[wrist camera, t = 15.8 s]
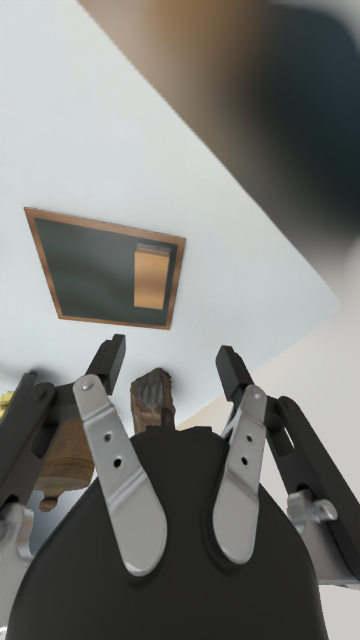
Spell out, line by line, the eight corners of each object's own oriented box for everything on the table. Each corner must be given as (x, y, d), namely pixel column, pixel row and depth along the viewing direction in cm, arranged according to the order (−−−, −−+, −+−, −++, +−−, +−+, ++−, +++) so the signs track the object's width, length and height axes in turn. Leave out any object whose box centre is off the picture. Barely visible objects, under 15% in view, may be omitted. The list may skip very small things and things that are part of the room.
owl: (160, 363, 41) (156, 462, 25) (188, 383, 47) (199, 473, 31) (128, 382, 45) (106, 479, 29) (158, 399, 51) (153, 486, 35)
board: (30, 207, 21) (22, 206, 20) (184, 237, 24) (185, 238, 23) (62, 315, 31) (58, 319, 30) (169, 326, 34) (169, 330, 33)
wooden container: (102, 419, 56) (71, 515, 38) (58, 410, 51) (-2, 517, 33) (119, 401, 50) (92, 505, 32) (71, 388, 45) (5, 505, 27)
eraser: (138, 241, 23) (132, 247, 19) (171, 247, 24) (171, 253, 20) (137, 295, 28) (132, 308, 24) (164, 298, 29) (163, 312, 25)
